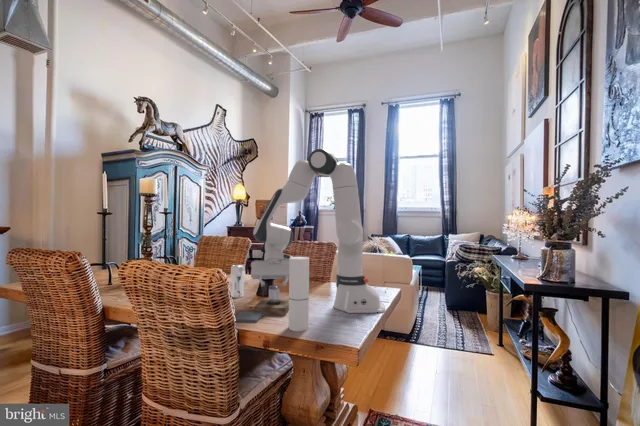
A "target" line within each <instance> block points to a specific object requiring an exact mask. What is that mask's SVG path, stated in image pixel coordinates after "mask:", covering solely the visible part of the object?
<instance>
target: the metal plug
mask: <svg viewBox="0 0 640 426" xmlns="http://www.w3.org/2000/svg"><path fill="white" fill-rule="evenodd" d="M268 298H269V305H279V299H280V285H278V284H273V285H272V284H271V285H268Z"/></svg>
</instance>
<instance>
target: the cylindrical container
mask: <svg viewBox="0 0 640 426" xmlns="http://www.w3.org/2000/svg"><path fill="white" fill-rule="evenodd" d="M288 299H289V311H288V329H289V330H290V331H293V332H305V331H307V330H309V328H310V327H309V324H310V323H309V322H310V321H309V319H310V318H309V316H310V315H309V313H310V312H309V310H310V307H309V306H310V305H309V304H310V257H307V256H292V257H291V258H289V278H288Z"/></svg>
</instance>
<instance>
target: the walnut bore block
mask: <svg viewBox="0 0 640 426" xmlns="http://www.w3.org/2000/svg"><path fill="white" fill-rule="evenodd" d="M253 307H254V308H253V312H263V316H264V315H266V316H269V315H270V316H287V314H289V298H279V305H269V297H268V298H265V297H263V298H262V299H260V301H258V302H257V304H255V305H254V306H253Z"/></svg>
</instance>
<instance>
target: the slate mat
mask: <svg viewBox="0 0 640 426" xmlns="http://www.w3.org/2000/svg"><path fill="white" fill-rule="evenodd" d="M263 316H264V315H263V312H254V311H240V312H239V313H238V314H237V315H236V316H235V317H236V321H237V322H239V323H254V324H255V323H258V322H259V320H260V319H261V318H262V317H263ZM237 322H236V323H237Z"/></svg>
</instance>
